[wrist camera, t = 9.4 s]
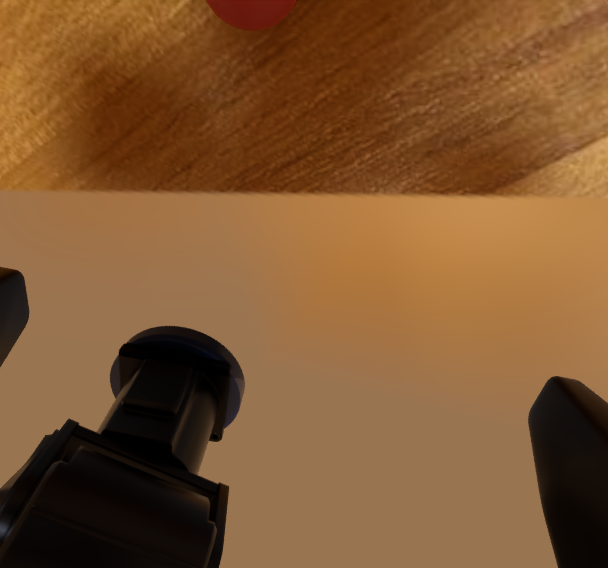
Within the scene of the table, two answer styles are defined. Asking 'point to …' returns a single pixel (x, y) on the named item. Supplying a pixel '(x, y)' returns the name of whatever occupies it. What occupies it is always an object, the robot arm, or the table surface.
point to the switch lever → (252, 12)
